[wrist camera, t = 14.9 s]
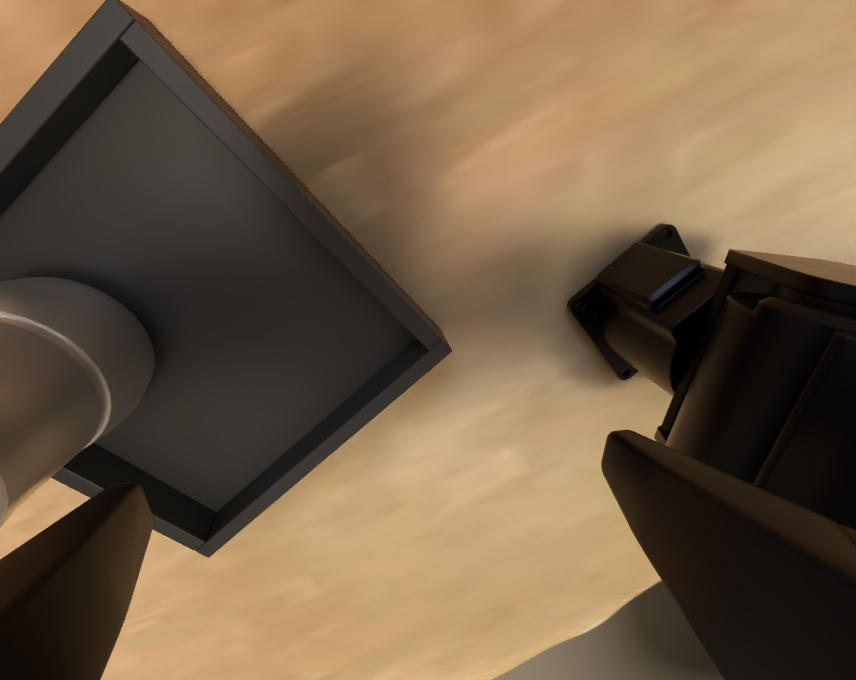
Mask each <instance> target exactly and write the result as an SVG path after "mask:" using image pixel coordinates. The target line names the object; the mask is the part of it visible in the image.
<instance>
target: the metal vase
mask: <svg viewBox="0 0 856 680" xmlns="http://www.w3.org/2000/svg"><path fill="white" fill-rule="evenodd" d="M154 367H155V357H154V350H153V346H152V343H151V340H150V338H149V336H148V334H147V332H146V330H145V328H144V327H143V325H142V324H141V323H140V322H139V320H138V319H137V318H136V317H135V316H134V314H133V313H131V312H130V311H129V310H128V309H127V308H126V307H125V306H123V305H122V304H121V303H120V302H118V301H117V300H115V299H114V298H112V297H110V296H109V295H107V294H106V293H104V292H102V291H99V290H97V289H95V288H93V287H91V286H88V285H85V284H82V283H79V282H75V281H72V280H68V279H61V278H54V277H29V278H21V279H14V280H7V281H0V527H1V526H2V525H3V524H4V523H5V522H6V520H7V519H8V518H9V517H10V516H11V514H12V513H13V512H14V511H15V510H16V509H17V508H18V507H19V506H20V505H21V504H22V503H23V502H24V501H25V500H27V499H28V498H29V497H30V496H31V495H32V494H33V493H34V492H35V491H37V490H38V489H39V488H40V487H41V486H42V485H43V484H44V483H45V482H47V481H48V480H49V479H50V478H51V477H52V476H53V475H54V474H56V473H57V472H58V471H59V470H60V469H61V468H62V467H63V466H64V465H66V464H67V463H68V462H69V461H70V460H71V459H72V458H73V457H74V456H76V455H77V454H78V453H79V452H80V451H81V450H83V449H85V448H86V447H88V446H89V445H91V444H92V443H94V442H95V441H97V440H98V439H100V438H101V437H103V436H104V435H106V434H107V433H108V432H110V431H111V430H112V429H113V428H115V427H116V426H117V425H118V424H119V423H121V422H122V421H123V420H124V419H126V418H127V417H128V416H129V415H130V414H131V413H132V412H133V411H134V410H135V408H136V407H137V406H138V404H139V403H140V401H141V399H142V397H143V395H144V393H145V391H146V389H147V387H148V385H149V382H150V380H151V378H152V375H153V371H154Z"/></svg>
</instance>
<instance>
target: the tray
mask: <svg viewBox="0 0 856 680" xmlns="http://www.w3.org/2000/svg"><path fill="white" fill-rule="evenodd" d="M29 277H54V278H61V279H68V280H72V281H75V282H79V283H82V284H85V285H88V286H91V287H93V288H95V289H97V290H99V291H102V292H104V293H106V294H107V295H109V296H110V297H112V298H114V299H115V300H117V301H118V302H120V303H121V304H122V305H123V306H125V307H126V308H127V309H128V310H129V311H130V312H131V313H133V314H134V316H135V317H136V318H137V319H138V320H139V322H140V323H141V324H142V325H143V327H144V328H145V330H146V332H147V334H148V336H149V338H150V340H151V343H152V346H153V350H154V357H155V367H154V371H153V375H152V378H151V380H150V382H149V385H148V387H147V389H146V391H145V393H144V395H143V397H142V399H141V401H140V403H139V404H138V406H137V407H136V408H135V410H134V411H133V412H132V413H131V414H130V415H129V416H128V417H127V418H126V419H124V420H123V421H122V422H121V423H119V424H118V425H117V426H116V427H115V428H113V429H112V430H111V431H110V432H108V433H107V434H106V435H104V436H103V437H101V438H100V439H98V440H97V441H95V442H94V443H92V444H91V445H89V446H88V447H86V448H85V449H83V450H81V451H80V452H79V453H78V454H77V455H76V456H74V457H73V458H72V459H71V460H70V461H69V462H68V463H67V464H66V465H64V466H63V467H62V468H61V469H60V470H59V471H58V472H57V473H56V474H54V475H53V476H52V477H51V478H53V479H55V480H57V481H59V482H61V483H63V484H65V485H67V486H68V487H70V488H72V489H74V490H76V491H78V492H80V493H82V494H84V495H86V496H88V497H90V498H92V497H94V496H95V495H96V494H98V493H99V492H101V491H102V490H104V489H105V488H107V487H108V486H110V485H113V484H117V483H127V482H138V483H140V484H141V485H142V487H143V489H144V491H145V494H146V498H147V501H148V504H149V507H150V510H151V513H152V516H153V528H152V529H153V530H155V531H157V532H159V533H161V534H163V535H165V536H167V537H169V538H171V539H173V540H175V541H177V542H179V543H181V544H182V545H184V546H186V547H188V548H190V549H192V550H196V551H197V552H198V553H200V554H202V555H204V556H206V557H210V556H211V555H213V554H214V553H215V552H216V551H217V550H218V549H220V548H221V547H222V546H223V545H224V544H225V543H227V542H228V541H229V540H230V539H231V538H233V537H234V536H235V535H236V534H237V533H238V532H240V531H241V530H242V529H243V528H244V527H246V526H247V525H248V524H249V523H250V522H251V521H253V520H254V519H255V518H256V517H257V516H259V515H260V514H261V513H262V512H263V511H264V510H266V509H267V508H268V507H269V506H270V505H271V504H273V503H274V502H275V501H276V500H277V499H279V498H280V497H281V496H282V495H283V494H284V493H286V492H287V491H288V490H289V489H290V488H292V487H293V486H294V485H295V484H296V483H297V482H299V481H300V480H301V479H302V478H303V477H304V476H306V475H307V474H308V473H309V472H310V471H312V470H313V469H314V468H315V467H316V466H317V465H319V464H320V463H321V462H322V461H323V460H325V459H326V458H327V457H328V456H329V455H330V454H332V453H333V452H334V451H335V450H336V449H338V448H339V447H340V446H341V445H342V444H343V443H345V442H346V441H347V440H348V439H349V438H350V437H352V436H353V435H354V434H355V433H356V432H358V431H359V430H360V429H361V428H362V427H363V426H365V425H366V424H367V423H368V422H369V421H371V420H372V419H373V418H374V417H375V416H376V415H378V414H379V413H380V412H381V411H382V410H384V409H385V408H386V407H387V406H388V405H389V404H391V403H392V402H393V401H394V400H395V399H396V398H398V397H399V396H400V395H401V394H402V393H404V392H405V391H406V390H407V389H408V388H409V387H411V386H412V385H413V384H414V383H415V382H417V381H418V380H419V379H420V378H421V377H422V376H424V375H425V374H426V373H427V372H428V371H429V370H431V369H432V368H433V367H434V366H435V365H437V364H438V363H439V362H440V361H441V360H442V359H444V358H445V357H446V356H447V355H448V354H450V353H451V352H452V349H451V347H450V345H449V344H448V342H447V340H446V338H445V336H444V335H443V333H442V331H441V330H440V328H439V327H438V326H437V325H436V324H435V323H434V322H433V321H432V320H431V319H430V318H429V317H428V316H427V315H426V314H425V313H424V312H423V310H422V309H421V308H420V307H419V306H418V305H417V304H416V303H415V302H414V301H413V300H412V299H411V298H410V297H409V296H408V295H407V294H406V292H405V291H404V290H403V289H402V288H401V287H400V286H399V285H398V284H397V283H396V282H395V281H394V280H393V279H392V278H391V277H390V276H389V274H388V273H387V272H386V271H385V270H384V269H383V268H382V267H381V266H380V265H379V264H378V263H377V262H376V261H375V260H374V259H373V258H372V256H371V255H370V254H369V253H368V252H367V251H366V250H365V249H364V248H363V247H362V246H361V245H360V244H359V243H358V242H357V241H356V239H355V238H354V237H353V236H352V235H351V234H350V233H349V232H348V231H347V230H346V229H345V228H344V227H343V226H342V225H341V224H340V223H339V221H338V220H337V219H336V218H335V217H334V216H333V215H332V214H331V213H330V212H329V211H328V210H327V209H326V208H325V207H324V206H323V205H322V203H321V202H320V201H319V200H318V199H317V198H316V197H315V196H314V195H313V194H312V193H311V192H310V191H309V190H308V189H307V188H306V187H305V185H304V184H303V183H302V182H301V181H300V180H299V179H298V178H297V177H296V176H295V175H294V174H293V173H292V172H291V171H290V170H289V168H288V167H287V166H286V165H285V164H284V163H283V162H282V161H281V160H280V159H279V158H278V157H277V156H276V155H275V154H274V153H273V152H272V150H271V149H270V148H269V147H268V146H267V145H266V144H265V143H264V142H263V141H262V140H261V139H260V138H259V137H258V136H257V135H256V134H255V132H254V131H253V130H252V129H251V128H250V127H249V126H248V125H247V124H246V123H245V122H244V121H243V120H242V119H241V118H240V117H239V116H238V114H237V113H236V112H235V111H234V110H233V109H232V108H231V107H230V106H229V105H228V104H227V103H226V102H225V101H224V100H223V99H222V98H221V96H220V95H219V94H218V93H217V92H216V91H215V90H214V89H213V88H212V87H211V86H210V85H209V84H208V83H207V82H206V81H205V79H204V78H203V77H202V76H201V75H200V74H199V73H198V72H197V71H196V70H195V69H194V68H193V67H192V66H191V65H190V64H189V63H188V61H187V60H186V59H185V58H184V57H183V56H182V55H181V54H180V53H179V52H178V51H177V50H176V49H175V48H174V47H173V46H172V45H171V43H170V42H169V41H168V40H167V39H166V38H165V37H164V36H163V35H162V34H161V33H160V32H159V31H158V30H157V29H156V28H155V27H154V25H153V24H152V23H151V22H150V21H149V20H148V19H147V18H145V17H144V16H142V15H141V14H139V13H138V12H136V11H135V10H133V9H132V8H131V7H129V6H128V5H126V4H125V3H123V2H122V1H120V0H106V1H105V2H104V3H103V4H102V5H101V7H100V8H99V9H98V10H97V11H96V12H95V14H94V15H93V16H92V17H91V18H90V19H89V21H88V22H87V23H86V24H85V25H84V26H83V28H82V29H81V30H80V31H79V32H78V34H77V35H76V36H75V37H74V38H73V39H72V41H71V42H70V43H69V44H68V45H67V46H66V48H65V49H64V50H63V51H62V52H61V54H60V55H59V56H58V57H57V58H56V59H55V61H54V62H53V63H52V64H51V65H50V66H49V68H48V69H47V70H46V71H45V72H44V73H43V75H42V76H41V77H40V78H39V79H38V81H37V82H36V83H35V84H34V85H33V86H32V88H31V89H30V90H29V91H28V92H27V93H26V95H25V96H24V97H23V98H22V99H21V100H20V102H19V103H18V104H17V105H16V106H15V108H14V109H13V110H12V111H11V112H10V113H9V115H8V116H7V117H6V118H5V119H4V120H3V122H2V123H1V124H0V281H7V280H14V279H21V278H29Z"/></svg>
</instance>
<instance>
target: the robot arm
mask: <svg viewBox="0 0 856 680" xmlns="http://www.w3.org/2000/svg"><path fill="white" fill-rule="evenodd" d="M665 231H666V232H667V233H666V236H665V237H664V238H663V233H664V232H665ZM724 263H725V264H727V265H726V267H725V270H724V269H721V268H717V267H714V266H711V265H707V264H704V263H701V261H700V260H699V259H695V258H692V257H690V255H689V253H688V251H687V249H686V247H685V245H684V243H683V241H682V240H681V238H680V236H679V234H678V232H677V230H676V228H675V227H674V226H673V225H669V224H661V225H659V226H658V227H656V228H655V229H654V230H653V231H652V232H650V233H649V234H648V235H647V236H646V237H644V238H643V239H642V240H641V241H639V242H638V243H635V244H634V245H632V246H631V247H630V248H629V249H628V250H626V251H625V252H624V253H623V254H622V255H620V256H619V257H618V258H617V259H616V260H614V261H613V262H612V263H611V264H609V265H608V266H607V267H606V268H605V269H603V270H602V271H601V272H600V273H599V274H598V275H597V277H596V278H595V279H594V280H592V281H591V282H590V283H589V284H588V285H586V286H585V287H584V288H583V289H582V290H580V291H579V292H578V293H577V294H576V295H574V296H573V297H572V298H571V299H570V300H569V301H568V304H567V309H568V311H569V312H570V314H571V315H572V317H573V318H574V319H575V321H576V322H577V323H578V325H579V326H580V327H581V329H582V330H583V332H584V333H585V334H586V336H587V337H588V338H589V340H590V341H591V342H592V344H593V345H594V347H595V348H596V349H597V351H598V352H599V353H600V355H601V356H602V358H603V359H604V360H605V362H606V363H607V364H608V366H609V367H610V368H611V370H612V371H613V373H614V374H615V375H616V376H617V377H618V378H620V379H621V380H627V379H629V378H631V377H632V376H633V375H634V374H636V373H637V372H638V371H640V372H641V373H642V374H644V375H645V376H646V377H648V378H649V379H650V380H652V381H653V382H654V383H656V384H657V385H659V386H660V387H661V388H663V389H664V390H665V391H667V392H668V393H669V394H671V395H672V396H673V398H672V401H671V403H670V406H669V408H668V411H667V413H666V415H665V418H664V420H663V423H662V425H661V426H659V427H658V428H657V431H656V433H655V436H654V438H655V440H656V441H657V442H656V441H654V440H651V439H649V438H647V437H645V436H642V435H640V434H638V433H636V432H633V431H631V430H620V431H613V432H611V433H609V435H608V436H607V440H606V444H605V449H604V453H603V458H602V463H601V466H602V471H603V474H604V476H605V478H606V480H607V482H608V484H609V486H610V488H611V490H612V492H613V494H614V496H615V498H616V500H617V502H618V504H619V506H620V508H621V510H622V512H623V514H624V516H625V518H626V520H627V522H628V524H629V526H630V528H631V530H632V532H633V534H634V535H635V537H636V539H637V541H638V543H639V544H640V546H641V548H642V549H643V551H644V553H645V554H646V556H647V557H648V559H649V561H650V562H651V564H652V565H653V567H654V568H655V570H656V572H657V573H658V575H659V576H660V578H661V580H662V581H663V583H664V584H665V586H666V588H667V589H668V590H669V592H670V594H671V595H672V597H673V599H674V600H675V602H676V603H677V605H678V607H679V608H680V610H681V611H682V613H683V614H684V616H685V618H686V619H687V621H688V622H689V624H690V626H691V627H692V629H693V631H694V632H695V634H696V635H697V637H698V638H699V640H700V642H701V643H702V645H703V646H704V648H705V649H706V651H707V653H708V654H709V656H710V658H711V659H712V660H713V662H714V664H715V665H716V667H717V669H718V670H719V672H720V673H721V675H722V677H723V678H724V680H856V266H852V265H847V264H842V263H837V262H832V261H827V260H821V259H812V258H804V257H795V256H786V255H777V254H768V253H759V252H751V251H742V250H733V249H729V252H728V254H727V257H726V259H725V262H724ZM578 303H580V306H579V308H577V309H575V306H576V305H577V304H578ZM625 369H626V370H625ZM624 370H625V372H623V371H624ZM622 372H623V373H622ZM152 528H153V516H152V513H151V510H150V507H149V504H148V501H147V498H146V494H145V491H144V489H143V487H142V485H141V484H140V483H138V482H127V483H117V484H113V485H110V486H108V487H107V488H105V489H104V490H102V491H101V492H99V493H98V494H96V495H95V496H94V497H92V498H91V499H89V500H88V501H86V502H85V503H83V504H82V505H80V506H79V507H77V508H76V509H74V510H73V511H71V512H70V513H68V514H67V515H65V516H64V517H63V518H61V519H60V520H58V521H57V522H55V523H54V524H52V525H51V526H49V527H48V528H46V529H45V530H43V531H42V532H40V533H39V534H37V535H36V536H34V537H33V538H32V539H30V540H29V541H27V542H26V543H24V544H23V545H21V546H20V547H18V548H17V549H15V550H14V551H12V552H11V553H9V554H8V555H6V556H5V557H3V558H2V559H1V560H0V680H100V679H101V677H102V675H103V672H104V670H105V667H106V665H107V662H108V660H109V658H110V655H111V653H112V650H113V648H114V646H115V643H116V641H117V638H118V636H119V633H120V631H121V628H122V626H123V623H124V620H125V617H126V614H127V611H128V608H129V605H130V602H131V599H132V595H133V592H134V589H135V585H136V582H137V579H138V575H139V572H140V569H141V565H142V562H143V559H144V556H145V552H146V549H147V546H148V542H149V539H150V536H151V532H152Z"/></svg>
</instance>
